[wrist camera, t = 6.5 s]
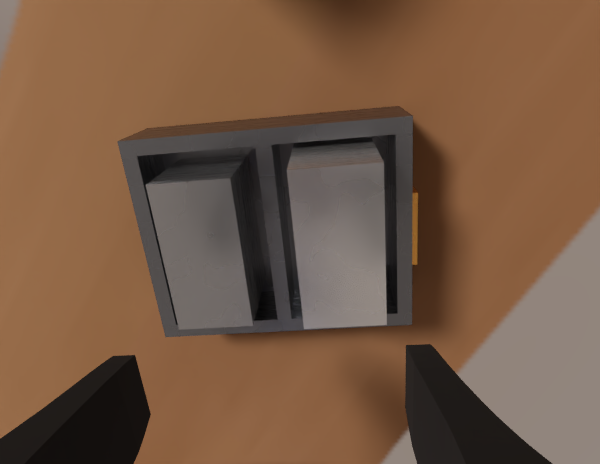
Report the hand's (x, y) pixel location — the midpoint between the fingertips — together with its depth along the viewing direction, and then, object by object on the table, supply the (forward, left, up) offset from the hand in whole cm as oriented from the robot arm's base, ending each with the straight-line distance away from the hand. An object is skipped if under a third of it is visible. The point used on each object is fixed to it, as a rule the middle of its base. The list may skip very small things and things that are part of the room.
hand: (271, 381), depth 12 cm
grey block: (+2, -2, -9) cm, 10 cm away
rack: (+1, 0, -10) cm, 10 cm away
